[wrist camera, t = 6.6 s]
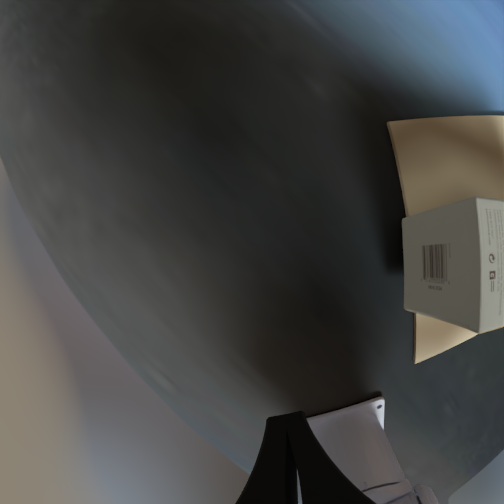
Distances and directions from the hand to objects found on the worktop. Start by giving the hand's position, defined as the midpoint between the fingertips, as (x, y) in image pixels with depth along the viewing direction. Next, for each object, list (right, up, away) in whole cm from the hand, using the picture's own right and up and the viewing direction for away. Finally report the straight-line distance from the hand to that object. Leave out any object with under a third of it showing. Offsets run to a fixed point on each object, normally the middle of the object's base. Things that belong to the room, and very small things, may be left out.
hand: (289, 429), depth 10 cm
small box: (+8, +6, +4) cm, 11 cm away
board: (+17, +8, +9) cm, 20 cm away
